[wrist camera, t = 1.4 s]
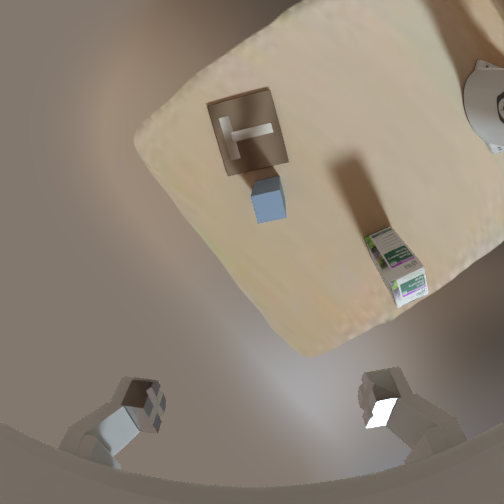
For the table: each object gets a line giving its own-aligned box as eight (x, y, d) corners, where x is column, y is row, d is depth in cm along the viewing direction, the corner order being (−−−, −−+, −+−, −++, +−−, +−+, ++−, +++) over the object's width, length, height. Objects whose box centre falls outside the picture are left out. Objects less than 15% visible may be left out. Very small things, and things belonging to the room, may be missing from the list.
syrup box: (390, 224, 47) (424, 264, 34) (398, 250, 49) (430, 294, 36) (363, 237, 49) (389, 281, 36) (372, 262, 51) (397, 310, 38)
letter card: (270, 90, 39) (269, 89, 38) (288, 161, 44) (288, 162, 43) (208, 106, 41) (207, 106, 40) (228, 175, 46) (227, 176, 45)
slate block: (279, 175, 45) (279, 189, 37) (284, 198, 47) (286, 217, 39) (255, 181, 46) (250, 196, 38) (261, 203, 48) (258, 223, 40)
